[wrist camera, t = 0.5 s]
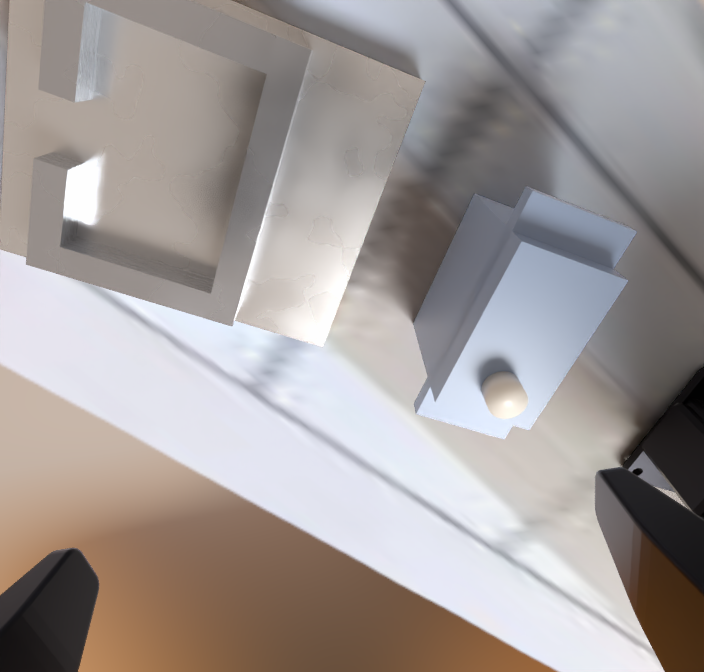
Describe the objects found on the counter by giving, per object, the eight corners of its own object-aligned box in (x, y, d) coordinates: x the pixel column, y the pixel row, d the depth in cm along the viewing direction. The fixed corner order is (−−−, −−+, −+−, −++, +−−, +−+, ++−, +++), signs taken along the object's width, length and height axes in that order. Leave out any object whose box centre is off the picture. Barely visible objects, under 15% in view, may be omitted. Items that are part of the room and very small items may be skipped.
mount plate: (421, 79, 17) (431, 82, 15) (323, 335, 21) (321, 363, 19) (32, -82, 15) (-15, -104, 13) (14, 240, 19) (-23, 260, 17)
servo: (489, 160, 18) (556, 207, 13) (573, 193, 19) (671, 251, 13) (401, 347, 22) (423, 447, 16) (474, 369, 22) (519, 473, 17)
